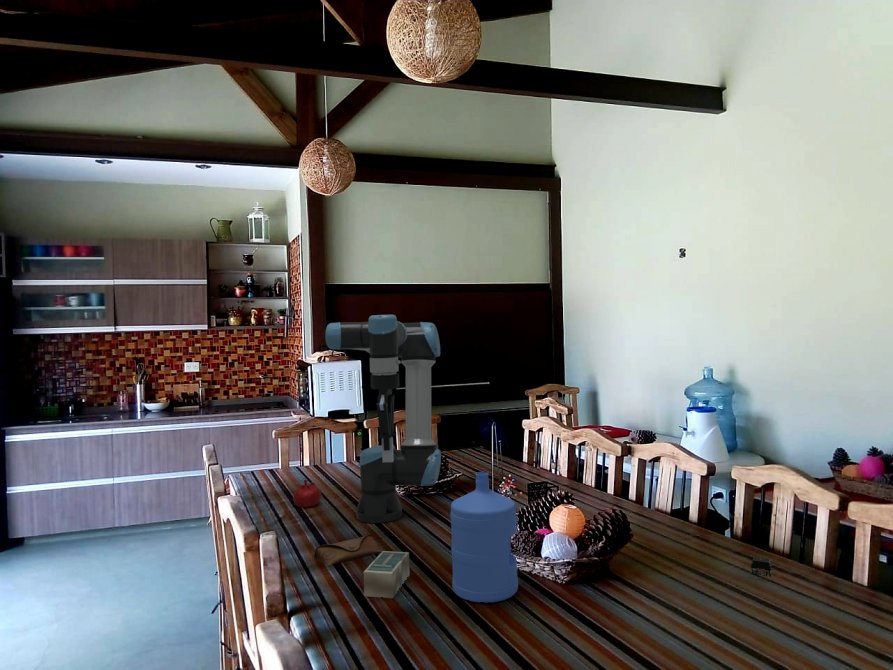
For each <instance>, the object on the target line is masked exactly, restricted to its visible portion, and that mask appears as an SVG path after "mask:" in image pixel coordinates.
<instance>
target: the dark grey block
mask: <svg viewBox="0 0 893 670" xmlns="http://www.w3.org/2000/svg"><path fill="white" fill-rule="evenodd" d="M752 558H753V559H752V561H751V563H750V564H751V565H750V568H751V570H752V574H754V575H761V574H764V575H763V576H765V575H766V576H767V575H768V574H769V576H770V577H771V573H772V570H773V565H772V562H771V559H770V558H765V557H759V556H753V557H752ZM759 569H760V570H759ZM763 570H764V571H763ZM761 572H763V573H761ZM765 573H766V574H765Z"/></svg>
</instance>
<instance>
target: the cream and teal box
mask: <svg viewBox="0 0 893 670" xmlns="http://www.w3.org/2000/svg"><path fill="white" fill-rule="evenodd" d="M381 551H382V552H381V553H379V554H378V556H377V557H376V558H375V559H374V560H373V561H372V562H371V563H370V564H369V566H367V568H366V569H365V570H364V571H363V595H364V597H370V598H381V597H383V599H384V598H385V599H394V597H395V596H396V594H397V593H398V592H397V591H400V589H401V588H402V586H403V585H404V584H405V582H406V581H407V579H408V578H409V576H410V575H411V574H410V552H407V551H405V552H404V551H390V550H389V551H386V550H381ZM407 577H408V578H407ZM405 580H406V581H405ZM404 581H405V582H404ZM402 584H403V585H402ZM399 588H400V589H399Z"/></svg>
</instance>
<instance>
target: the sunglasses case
mask: <svg viewBox="0 0 893 670" xmlns="http://www.w3.org/2000/svg"><path fill="white" fill-rule="evenodd" d="M382 551H383V550H381V548H380V547H379V546H378V543H376V541H375V540H374V538H373V535H372V534H366V535H364V536H361V537H356V538H351V539H346V540H342V541H339V542H335V543H329V544H322V545H319V546H317V547H316V548H315V549H314V554H313V555H314V559H315V558H316V559H317V560H319V561H321V562H322V563H324V564H326V565H333V566H335V565H334V564H336V565H338V564H337V563H339V564H341V563H340V562H342V563H345V562H344V561H346V562H349V561H348V560H350V561H353V560H352V559H354V560H357V558H358V559H360V558H361V559H362V558H366V557H369V556H373V555H372V554H374V555H377V553H379V554H381V552H382ZM316 559H315V560H316ZM317 560H316V561H317ZM319 561H318V562H319ZM321 562H320V563H321ZM322 563H321V564H322ZM324 564H323V565H324ZM326 565H325V566H326Z"/></svg>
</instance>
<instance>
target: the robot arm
mask: <svg viewBox="0 0 893 670" xmlns="http://www.w3.org/2000/svg"><path fill="white" fill-rule="evenodd" d="M324 338H325V343H326V346H327V347H328V349H330V350H339V351H340V350H355V351H356V350H357V351H358V350H359V351H366V353H368V354H369V372H370V387H371V389H372V390H378V395H376V409H377V419H378V429H379V436H378V439H381V445H376V446H372V447H368V448H365V449H363V450H362V451H361V453H360V455H359V474H360V475H359V476H360V497H359V500H358V504H357V508H356V512H355V513H356V519H357V521H359V522H362V523H366V524H368V523H369V524H382V523H389V522H390V523H391V522H393V521H397V520H398V519H400V518H401V517H402V516H403V509H402V505H401V502H400V500H399V497H398V494H397V486H400V487H401V486H403V487H404V486H411V487H413V486H415V487H416V486H418V487H419V486H420V487H423V486H434V485H435V484H436V483H437V482H438V479H439V475H440V470H441V463H442V456H441V455H442V452H441V449H438V448H437V443H436V442H435V441H434V440H433V439H432V367H433V366H434V364H436V358H438V357H440V356H441V344H440V337H439V332H438V329H437V326H436V325H435V323H433V322H424V321H418V322H416V321H415V322H400V321H398V320H397V316H396V315H395V314H377V315H375V314H374V315H373V314H372V315H370V316H369V318H368V321H360V322H359V321H357V322H356V321H352V322H351V321H349V322H348V321H346V322H345V321H344V322H340V321H339V322H330V323H328V324H327V326H326V329H325V337H324ZM399 358H401V359H399ZM400 364H402V365H403V366H404V367H405V439H404V441H403V442H401V444H400V449H396V447H395V445H394V439H393V437H395V436H396V435H397V434H396V433H395V399H396V398H395V395H394V393H393V389H394V390H395V389H398V388H399V387H400V375H399V373H397V372H399V368H400V367H399V365H400Z"/></svg>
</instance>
